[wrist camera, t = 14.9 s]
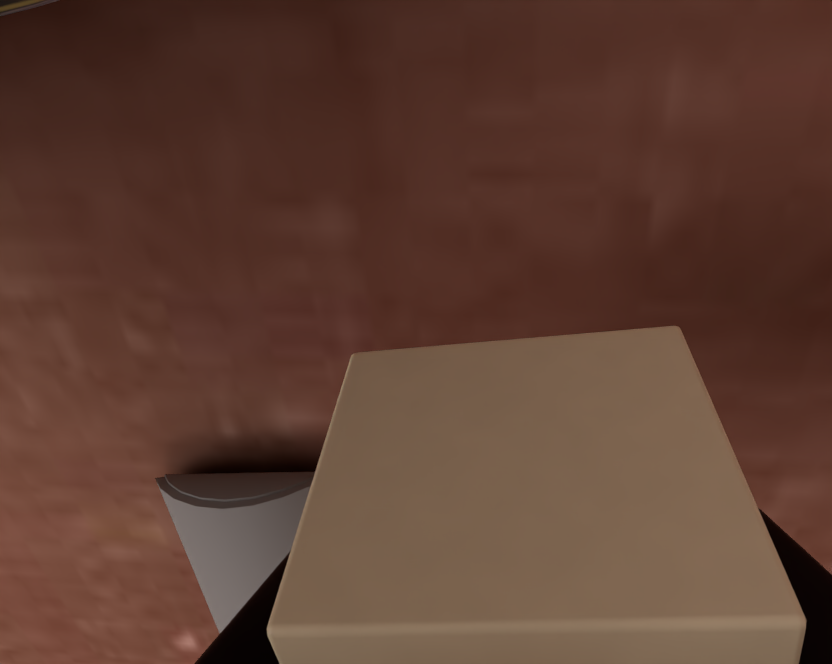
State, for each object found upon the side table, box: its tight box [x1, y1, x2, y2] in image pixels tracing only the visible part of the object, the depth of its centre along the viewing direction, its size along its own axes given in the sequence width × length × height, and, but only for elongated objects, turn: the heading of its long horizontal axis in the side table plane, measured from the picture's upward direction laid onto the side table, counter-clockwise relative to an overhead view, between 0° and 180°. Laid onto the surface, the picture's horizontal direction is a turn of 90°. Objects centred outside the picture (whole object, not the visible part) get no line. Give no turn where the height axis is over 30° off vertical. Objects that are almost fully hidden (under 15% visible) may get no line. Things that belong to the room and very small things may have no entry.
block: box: [267, 326, 807, 664], centre depth 8 cm, size 4×4×4 cm
